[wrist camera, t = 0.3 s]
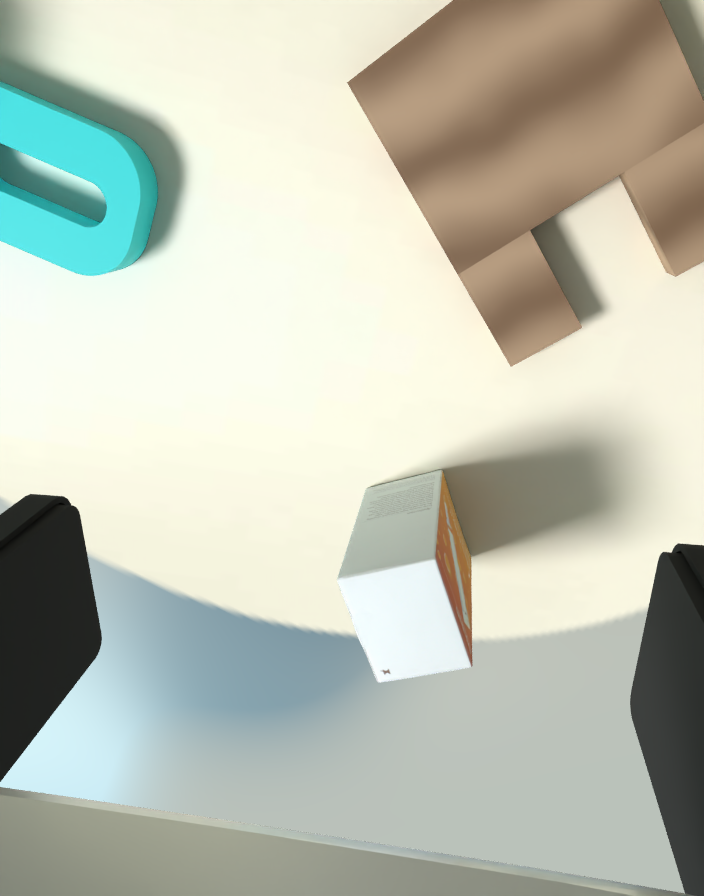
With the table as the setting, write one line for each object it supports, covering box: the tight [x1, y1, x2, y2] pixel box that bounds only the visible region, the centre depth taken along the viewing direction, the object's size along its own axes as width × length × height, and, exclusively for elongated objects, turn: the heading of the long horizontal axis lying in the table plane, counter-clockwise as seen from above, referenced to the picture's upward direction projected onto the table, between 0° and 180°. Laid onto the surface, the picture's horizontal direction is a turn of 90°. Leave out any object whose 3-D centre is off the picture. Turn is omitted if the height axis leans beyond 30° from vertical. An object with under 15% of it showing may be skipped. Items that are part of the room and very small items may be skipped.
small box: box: [337, 470, 472, 683], centre depth 45 cm, size 8×6×13 cm
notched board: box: [347, 0, 704, 366], centre depth 39 cm, size 20×16×2 cm
